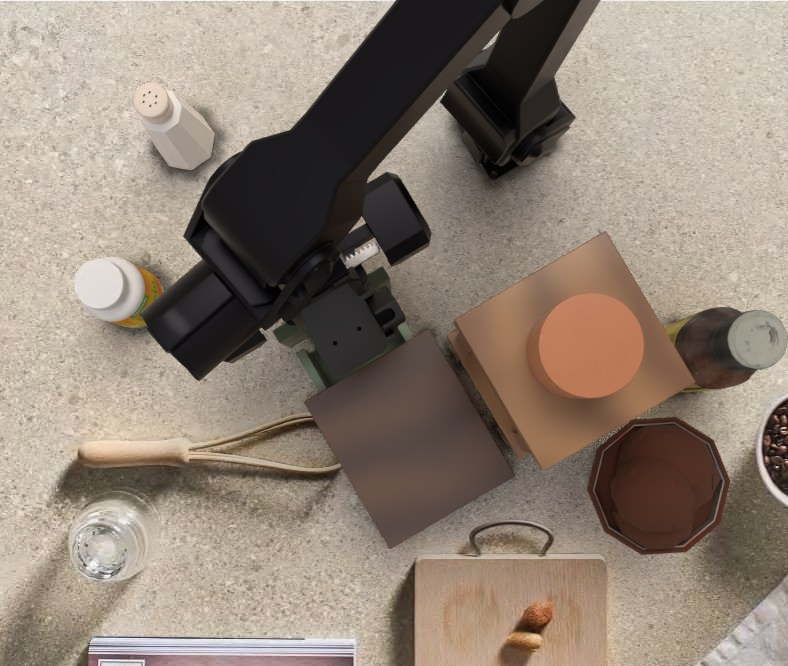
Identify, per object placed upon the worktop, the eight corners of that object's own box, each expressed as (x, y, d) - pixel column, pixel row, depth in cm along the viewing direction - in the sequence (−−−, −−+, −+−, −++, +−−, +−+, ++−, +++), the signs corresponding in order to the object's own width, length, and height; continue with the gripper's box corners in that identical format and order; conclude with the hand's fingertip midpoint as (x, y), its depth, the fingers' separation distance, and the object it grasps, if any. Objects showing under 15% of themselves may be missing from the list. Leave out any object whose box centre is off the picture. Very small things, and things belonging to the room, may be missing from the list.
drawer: (259, 295, 78) (245, 285, 71) (360, 236, 78) (355, 219, 71) (355, 459, 78) (349, 464, 71) (456, 399, 78) (461, 398, 71)
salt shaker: (227, 132, 79) (198, 88, 68) (195, 182, 79) (160, 147, 68) (176, 100, 79) (139, 51, 68) (144, 151, 79) (101, 110, 68)
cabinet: (315, 402, 79) (303, 402, 70) (426, 336, 79) (429, 328, 70) (391, 533, 78) (389, 549, 70) (504, 468, 78) (515, 476, 70)
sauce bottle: (722, 336, 78) (829, 312, 58) (700, 402, 78) (798, 401, 58) (652, 311, 78) (734, 280, 58) (629, 378, 78) (704, 369, 58)
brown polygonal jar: (651, 560, 78) (707, 597, 63) (543, 493, 78) (575, 514, 63) (714, 459, 78) (786, 471, 63) (607, 392, 78) (653, 389, 63)
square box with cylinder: (547, 283, 78) (606, 230, 55) (610, 389, 78) (696, 382, 55) (441, 345, 79) (454, 319, 55) (503, 451, 78) (543, 471, 55)
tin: (592, 285, 55) (610, 273, 50) (641, 368, 55) (664, 364, 50) (508, 333, 55) (518, 326, 50) (557, 416, 55) (572, 417, 50)
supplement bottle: (159, 334, 79) (124, 324, 69) (101, 322, 79) (58, 310, 69) (171, 275, 79) (138, 257, 69) (113, 263, 79) (72, 243, 69)
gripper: (237, 425, 59) (273, 421, 75) (476, 283, 59) (462, 309, 75) (154, 283, 59) (207, 309, 75) (391, 141, 59) (395, 197, 75)
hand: (319, 284), depth 75 cm, fingers closed, pressing on drawer
